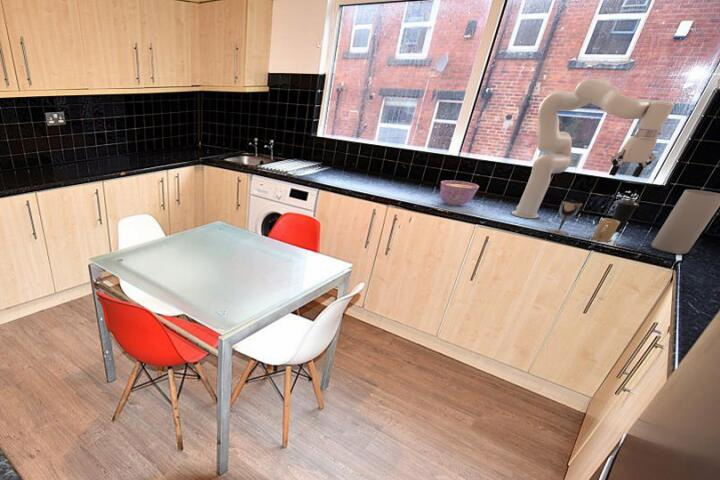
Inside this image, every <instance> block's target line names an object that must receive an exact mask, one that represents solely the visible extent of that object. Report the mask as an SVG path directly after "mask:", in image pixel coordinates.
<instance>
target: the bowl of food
mask: <svg viewBox="0 0 720 480" xmlns="http://www.w3.org/2000/svg"><path fill="white" fill-rule="evenodd" d="M479 188H480V186H479V185H478V184H476V183H473V182H469V181H464V180H451V179H450V180H446V179H445V180H441V181H440V191H439V192H440V194H439V197H440V199H441V201H442V202H444V203H445V205H447V206H451V207H461V206H463V205H466V204H468V203H469V202H471V200H472V199H473V198H474V196H475V195H476V193H477V191H478V190H479Z"/></svg>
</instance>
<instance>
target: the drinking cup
mask: <svg viewBox="0 0 720 480" xmlns="http://www.w3.org/2000/svg"><path fill="white" fill-rule="evenodd" d="M637 191H638V189H635V190H634V191H633V193H632V195H631V197H630V198H629V200H627V199H626V200H625V199H624V200H619V201H618V204H617V206H616V209H615V211H614V214H613V216H612V218H611V219H614V220H618V221H620V224H619V226H618V227H617V229H616V231H615V233H620V232H621V230H622V229H623V227H624V226H625V225H626V224H627V222H628V220H629V219H630V217H631V216H632V215H633V213H634V212H635V210H636V209H637V207H639V206H640V205H639V203H638V202H636V201H633V198H634V197H635V195H636V193H637Z"/></svg>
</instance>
